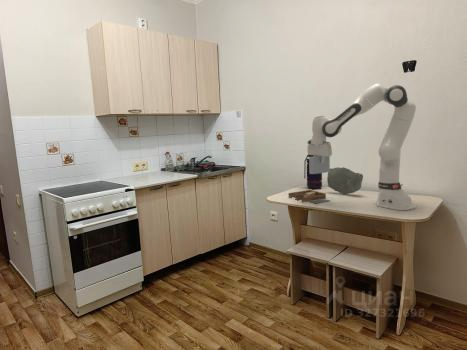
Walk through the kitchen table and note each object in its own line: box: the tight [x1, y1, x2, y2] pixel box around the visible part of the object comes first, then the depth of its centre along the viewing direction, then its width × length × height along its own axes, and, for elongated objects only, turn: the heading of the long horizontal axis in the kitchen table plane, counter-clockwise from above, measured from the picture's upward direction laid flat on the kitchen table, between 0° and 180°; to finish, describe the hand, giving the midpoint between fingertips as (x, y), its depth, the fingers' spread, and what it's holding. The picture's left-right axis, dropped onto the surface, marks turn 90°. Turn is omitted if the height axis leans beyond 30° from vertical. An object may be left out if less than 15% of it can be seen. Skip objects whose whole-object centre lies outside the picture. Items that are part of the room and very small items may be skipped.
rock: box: [326, 166, 364, 195], centre depth 235 cm, size 27×6×20 cm, turn 45°
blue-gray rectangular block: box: [308, 156, 331, 174], centre depth 216 cm, size 4×14×11 cm, turn 115°
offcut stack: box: [302, 192, 315, 198], centre depth 228 cm, size 4×10×4 cm, turn 115°
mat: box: [308, 198, 331, 205], centre depth 220 cm, size 7×13×1 cm, turn 115°
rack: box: [288, 189, 327, 203], centre depth 232 cm, size 17×20×4 cm
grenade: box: [303, 153, 323, 190], centre depth 264 cm, size 14×12×30 cm
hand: (319, 162), depth 216 cm, fingers closed on blue-gray rectangular block, 3 cm apart
